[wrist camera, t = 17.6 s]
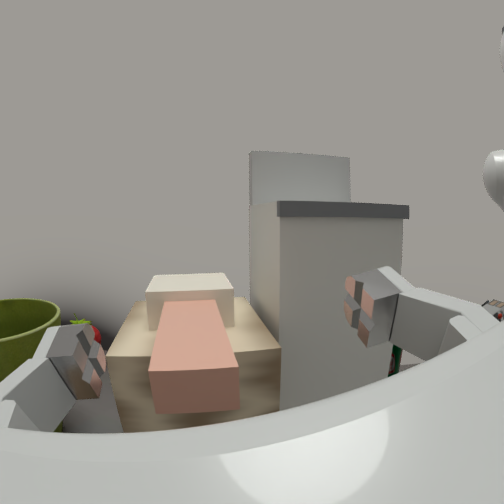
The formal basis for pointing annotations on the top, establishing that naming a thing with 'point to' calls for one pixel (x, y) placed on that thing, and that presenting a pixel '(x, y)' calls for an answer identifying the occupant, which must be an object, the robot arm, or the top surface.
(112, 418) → the top surface
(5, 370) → the flower pot
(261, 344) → the striped wooden block
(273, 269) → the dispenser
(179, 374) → the pink and cream bar
